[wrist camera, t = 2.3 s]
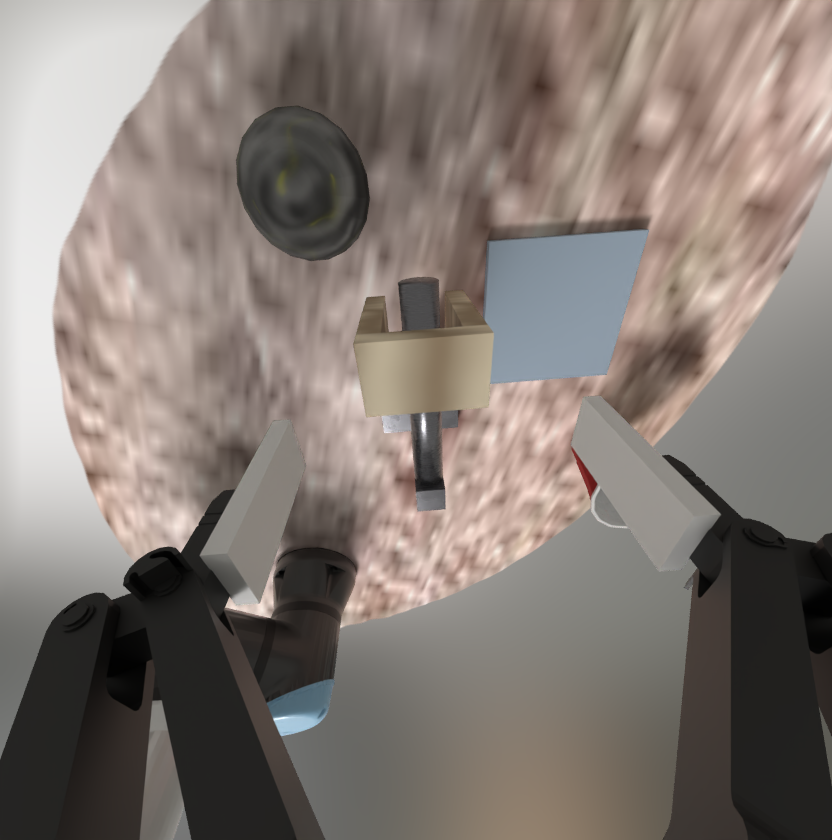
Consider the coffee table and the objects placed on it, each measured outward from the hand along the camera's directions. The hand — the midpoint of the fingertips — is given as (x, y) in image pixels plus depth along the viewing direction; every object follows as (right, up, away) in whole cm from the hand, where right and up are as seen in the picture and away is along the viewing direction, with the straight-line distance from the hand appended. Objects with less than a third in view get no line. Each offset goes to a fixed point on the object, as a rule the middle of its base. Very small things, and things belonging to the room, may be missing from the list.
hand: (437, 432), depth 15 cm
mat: (+15, +13, +23) cm, 30 cm away
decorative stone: (-10, +22, +15) cm, 28 cm away
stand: (-1, +9, +24) cm, 26 cm away
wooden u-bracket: (-1, +9, +13) cm, 16 cm away
